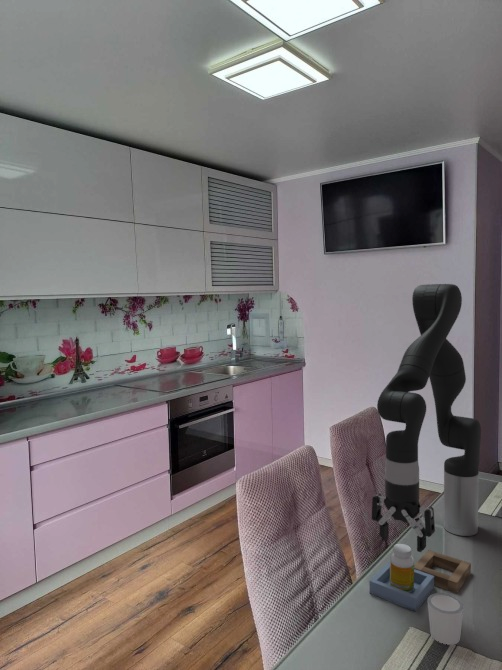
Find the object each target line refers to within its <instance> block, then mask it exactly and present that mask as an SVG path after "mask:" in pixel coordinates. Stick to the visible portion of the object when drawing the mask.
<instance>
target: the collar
mask: <svg viewBox="0 0 502 670" xmlns="http://www.w3.org/2000/svg"><path fill="white" fill-rule="evenodd" d="M471 565H472V563H471V562H468V561H465V560H461V559H459V558H456V557H452V556H449V555H445V554H443V553H440V552H437V551H434V550H430V549H427V550H426V552H425V553H424V554H423V555H422V556H421V558H420V559H418V561H417V562H416V563H414V569H415V570H418V571H421V572H424V573H427V574H430V575H433V576H434V587H435V586H436V587H439V588H442V589H444V590H447V591H449V592H452V593H455V594H457V593H458V591H460V589H461V587H463V585H464V583H465V582H466V581H467V579H468V578H469V576H470V575H471V573H472V571H471V570H472V566H471ZM433 566H435V567H439V568H441V569H444V570H447V571H450V572H453V573H452V574H451V575H449V574H446V573H443V572H441V571H437V570H435V569H432V567H433Z"/></svg>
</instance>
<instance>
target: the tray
mask: <svg viewBox="0 0 502 670" xmlns="http://www.w3.org/2000/svg"><path fill="white" fill-rule="evenodd" d="M434 589H435V585H434V576H433V575H430V574H427V573H424V572H421V571H418V570H415V569H414V590H413V591H412V592H411V593H409V592H406V591H403V590H401V589H398V588H396V587H393V586H390V560H389V561H388V562H387V563H386V564H385V565H384V566H383V567H381V569H380V570H379V571H378V572H377V573H376V574H375V575H374V576H373V577H371V579H370V580H369V594H371V595H374V596H376V597H379V598H381V599H384V600H386V601H388V602H391V603H393V604H395V605H397V606H401V607H403V608H404V609H408V610H411V611H412V612H418V610H419V608H420V607H421V606H422V604H424V602H425V600H427V599H428V597H429V596H430V595H431V593H432V592H433V591H434Z"/></svg>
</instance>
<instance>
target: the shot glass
mask: <svg viewBox="0 0 502 670" xmlns="http://www.w3.org/2000/svg"><path fill="white" fill-rule="evenodd" d="M427 610H428V611H427V612H428V621H429V630H430V631H429V632H430V636H431V635H432V636H431V638H432V639H433V640H435V641H436V642H438V641H439V642H438V643H440V644H442V643H443V645H446V644H447V646H453V645H456V644H458V643H459V642H460V641H461V632H462V626H463V615H464V603H463V602H462V600H461V599H459V598H457V597H456V596H454V595H451V594H449V593H444V592H443V593H442V592H435V593H433V594H429V595H428V597H427Z"/></svg>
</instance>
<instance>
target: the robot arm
mask: <svg viewBox="0 0 502 670" xmlns="http://www.w3.org/2000/svg"><path fill="white" fill-rule="evenodd" d="M411 303H412V309H413V314H414V317H415V321H416V324H417V327H418V330H419V335H420V336H418V337H417V338H416V339H415V340H414V341H413V342H412V343H410V345H409V346H408V347H407V348H406V350H405V351H404V354H403V356H402V359H401V361H400V363H399V367H398V369H397V372H396V373H395V375H394V376H393V377H392V379H391V380H390V381H389V382H388V383H387V385H386V386H385V388H384V389H382V392H381V393H380V395H379V397H378V400H377V405H376V407H377V413H378V415H379V417H381V419H383V420H385V421H389V422H395V423H401V424H405V428H404V430H401V429H400V430H391V431H390V432H388V433H387V434H386V437H385V463H384V485H385V486H384V487H385V488H384V491H385V492H384V493H385V496H382V494H381V493H378V492H377V494H375V495H374V496H372V501H371V520H372V521H376V522H378V525H379V536H380V538H381V541H384V542H386V541H387V540H388V539H389V536H390V535H389V533H390V532H389V529H390V527H389V522H388V521H389V520H390V519H391V518H393V519H394V520H395V521H401V522H403V523H406V524H407V523H408V524H409V526H410V527H411V529H413V530H414V531H415V533H416V534H417V536H416V550H417V552H419V553H421V552H423V551H424V550H425V549H426V548H427V537H428V538H430V537H432V535H433V534H434V533H435V532H436V529H435V528H436V526H435V509H434V507H432V506H428V507H425V506H421V503H420V465H419V438H420V435H421V432H422V431H421V430H422V427H423V423H424V420H425V418H426V414H427V403H426V400H425V399H424V398H425V397H423V396H422V395H421V394H420V393H416V392H417V391H421V390H423V389H425V387H426V386H427V384H428V381H430V386H431V390H432V395H433V400H434V405H435V416H436V427H437V433H438V438H439V442H440V443H441V444H442V445H443V446H445V447H448V448H453V449H458V450H462V451H463V450H464V454H461V455H459V456H458V455H457V456H452V457H449V458H447V459H445V460H444V463H443V528H444V529H445V530H446V531H447V532H448V533H451V534H453V535H456V536H461V537H470V536H474V535H476V534H478V532H479V531H478V530H479V528H478V527H479V469H480V468H479V467H480V456H481V455H480V453H481V452H480V451H481V439H482V430H481V429H482V426H481V423H480V421H479V420H478V419H477V418H472V417H465V416H460V415H459V416H458V415H454V414H453V413H452V407H453V404H454V402H455V400H456V399H457V397H458V396H459V395H460V393H461V392H462V391H463V389H464V387H465V384H466V382H467V375H466V370H465V364H464V359H463V357H462V355H461V354H460V352H459V350H458V349H457V348H456V347H455V346H454V345H453V344H452V343H451V342H450V341H449V340H448V339H447V338H448V336H449V334H450V332H451V330H452V329H453V326H454V324H455V323H456V321H457V319H458V318H459V314H460V312H461V309H462V303H463V297H462V292H461V289H460V288H459V286H458V285H456V284H453V283H435V284H433V283H432V284H431V283H429V284H428V283H427V284H420V285H417V286H416V287H415V288H414V290H413V292H412V302H411ZM415 391H416V392H415ZM383 504H384V506H385V508H386V509H387V511H386V512H385V513H384V515H382V505H383ZM420 513H421V515H422V518H423V519H424V523H423V520H422V518H421V517H420V515H419V514H420Z"/></svg>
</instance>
